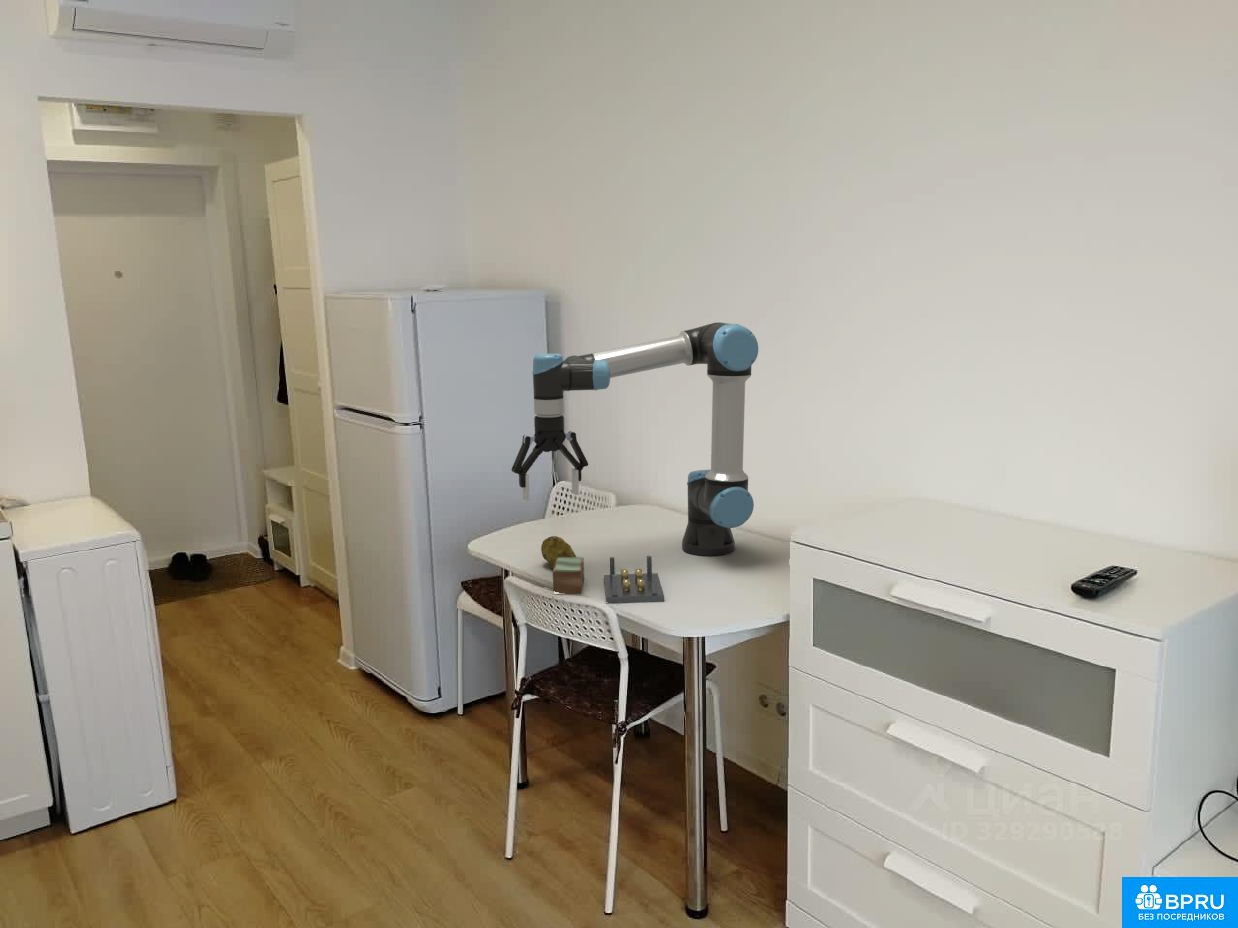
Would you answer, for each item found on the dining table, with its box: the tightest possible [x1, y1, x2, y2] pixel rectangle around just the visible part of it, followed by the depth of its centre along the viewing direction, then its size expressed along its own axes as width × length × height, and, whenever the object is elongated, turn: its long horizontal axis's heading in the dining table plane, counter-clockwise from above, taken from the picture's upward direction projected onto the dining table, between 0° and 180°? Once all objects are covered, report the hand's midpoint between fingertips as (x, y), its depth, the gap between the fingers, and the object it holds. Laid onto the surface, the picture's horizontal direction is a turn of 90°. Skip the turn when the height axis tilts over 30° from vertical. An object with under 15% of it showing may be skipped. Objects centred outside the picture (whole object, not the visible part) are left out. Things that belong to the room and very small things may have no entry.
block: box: [552, 556, 585, 595], centre depth 249 cm, size 12×7×6 cm, turn 179°
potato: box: [540, 535, 577, 569], centre depth 265 cm, size 8×13×8 cm, turn 16°
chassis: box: [603, 555, 665, 604], centre depth 245 cm, size 18×14×6 cm
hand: (551, 496), depth 252 cm, fingers open, 13 cm apart
